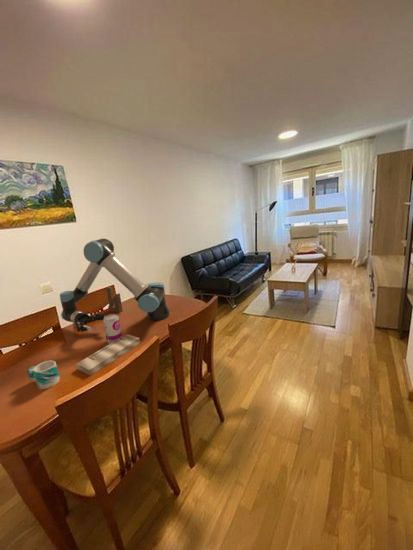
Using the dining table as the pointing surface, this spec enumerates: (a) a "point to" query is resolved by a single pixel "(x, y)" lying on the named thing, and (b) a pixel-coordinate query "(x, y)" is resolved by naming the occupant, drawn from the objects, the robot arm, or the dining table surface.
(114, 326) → the supplement can
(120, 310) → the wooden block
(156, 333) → the dining table surface
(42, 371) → the mug
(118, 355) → the grey compartment tray
